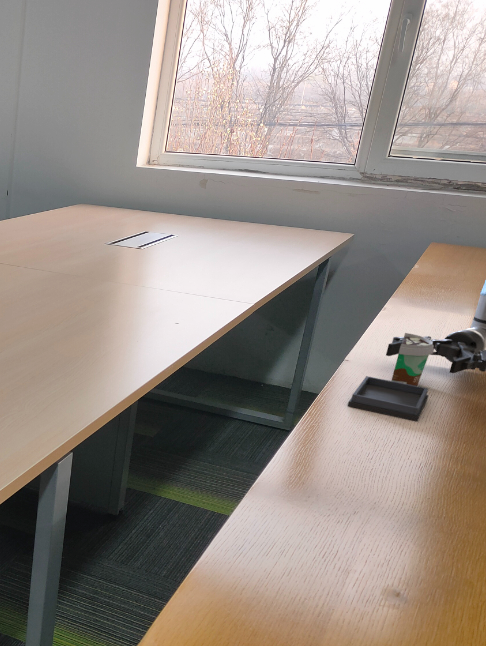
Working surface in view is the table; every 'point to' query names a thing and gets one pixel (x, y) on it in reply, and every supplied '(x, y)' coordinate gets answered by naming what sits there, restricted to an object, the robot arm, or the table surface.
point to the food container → (412, 359)
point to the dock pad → (390, 398)
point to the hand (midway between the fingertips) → (419, 358)
